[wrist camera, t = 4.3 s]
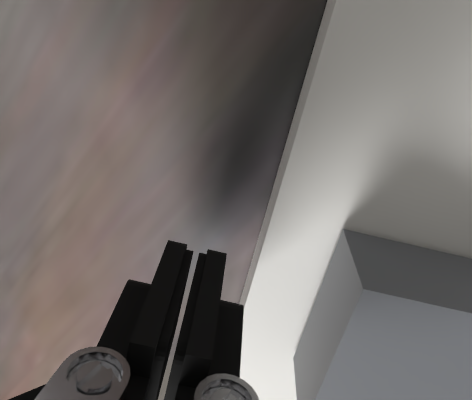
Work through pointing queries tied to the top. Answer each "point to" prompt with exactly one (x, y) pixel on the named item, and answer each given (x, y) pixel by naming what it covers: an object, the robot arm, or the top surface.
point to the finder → (388, 325)
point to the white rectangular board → (362, 164)
